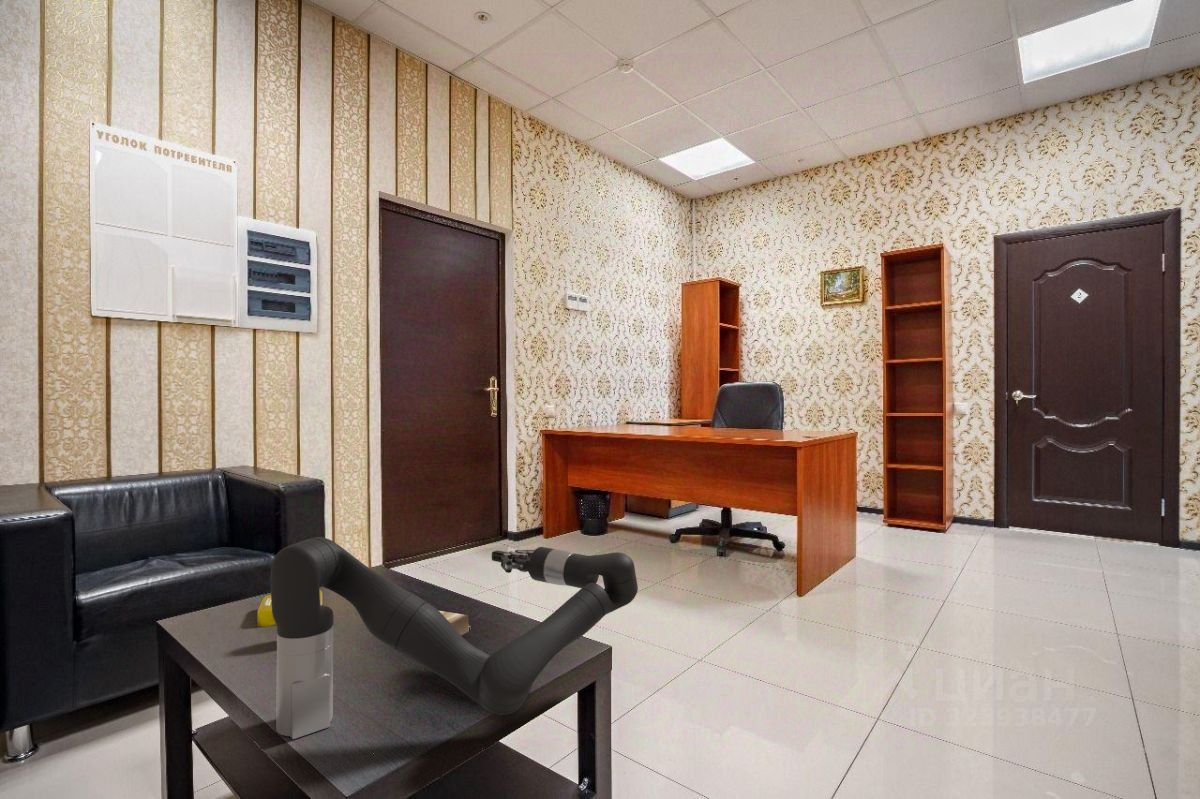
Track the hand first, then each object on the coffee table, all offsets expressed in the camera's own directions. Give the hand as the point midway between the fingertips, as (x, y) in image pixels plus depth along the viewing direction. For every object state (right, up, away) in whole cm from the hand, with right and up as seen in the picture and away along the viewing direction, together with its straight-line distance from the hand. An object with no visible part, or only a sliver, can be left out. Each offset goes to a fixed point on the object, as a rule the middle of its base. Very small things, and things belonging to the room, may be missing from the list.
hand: (493, 555), depth 137 cm
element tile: (-60, -23, +22) cm, 68 cm away
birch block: (-9, -19, +4) cm, 22 cm away
